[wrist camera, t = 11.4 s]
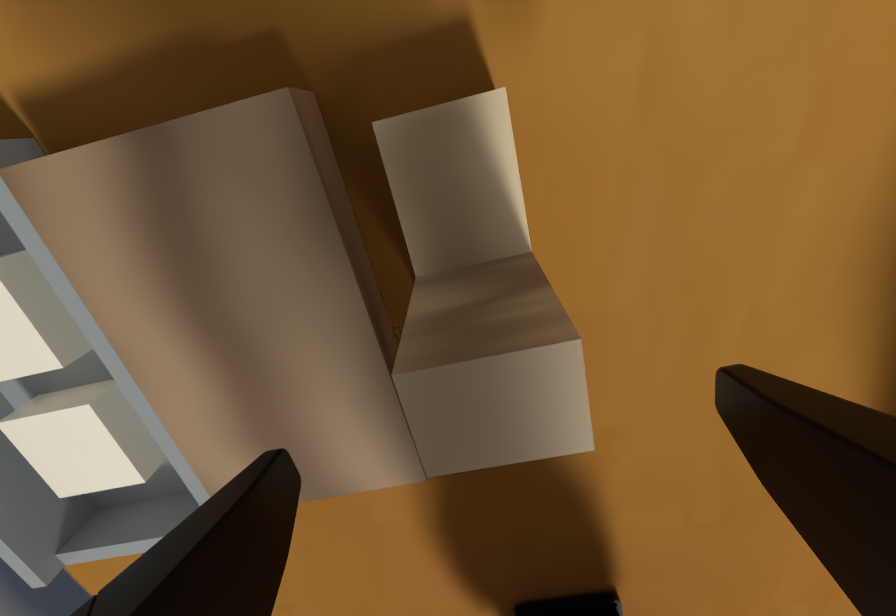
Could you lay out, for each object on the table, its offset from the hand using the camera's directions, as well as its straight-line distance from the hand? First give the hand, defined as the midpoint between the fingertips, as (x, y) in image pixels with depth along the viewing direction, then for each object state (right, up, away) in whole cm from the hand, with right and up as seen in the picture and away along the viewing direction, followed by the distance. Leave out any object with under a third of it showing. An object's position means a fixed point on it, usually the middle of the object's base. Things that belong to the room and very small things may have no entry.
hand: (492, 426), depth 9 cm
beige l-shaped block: (0, +4, +9) cm, 10 cm away
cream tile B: (-17, -3, +11) cm, 21 cm away
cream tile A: (-19, +2, +9) cm, 21 cm away
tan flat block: (-9, +2, +10) cm, 13 cm away
